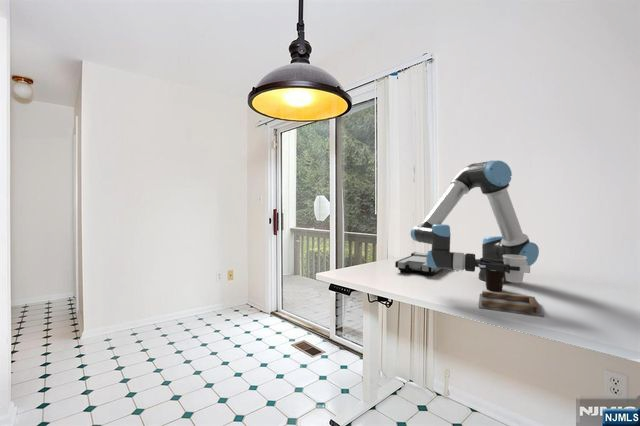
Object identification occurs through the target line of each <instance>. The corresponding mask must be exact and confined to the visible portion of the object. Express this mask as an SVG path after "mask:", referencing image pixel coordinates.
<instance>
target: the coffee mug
mask: <svg viewBox="0 0 640 426" xmlns="http://www.w3.org/2000/svg"><path fill="white" fill-rule="evenodd" d="M484 271H485V280H486V281H485V288H486V291H488V292H497V293H503V287H504V283H503V281H504V274H505V272H502V271H494V270H485V269H484Z"/></svg>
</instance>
